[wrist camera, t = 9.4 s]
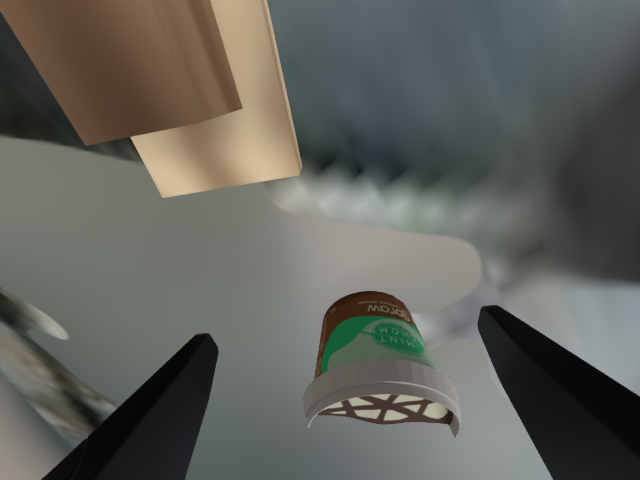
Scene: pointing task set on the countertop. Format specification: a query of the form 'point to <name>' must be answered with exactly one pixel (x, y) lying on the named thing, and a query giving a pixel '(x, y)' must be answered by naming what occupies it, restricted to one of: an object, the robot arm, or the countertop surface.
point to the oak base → (232, 117)
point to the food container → (378, 367)
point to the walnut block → (127, 62)
